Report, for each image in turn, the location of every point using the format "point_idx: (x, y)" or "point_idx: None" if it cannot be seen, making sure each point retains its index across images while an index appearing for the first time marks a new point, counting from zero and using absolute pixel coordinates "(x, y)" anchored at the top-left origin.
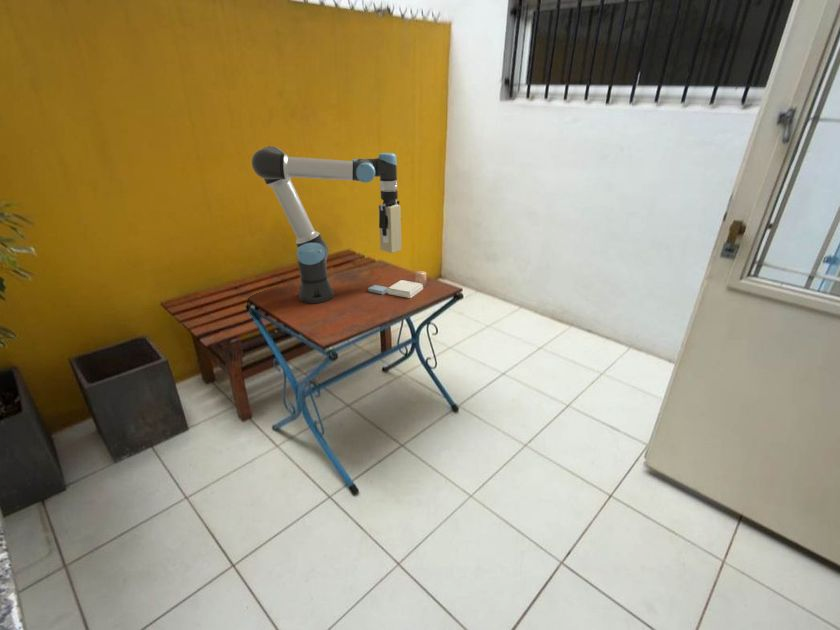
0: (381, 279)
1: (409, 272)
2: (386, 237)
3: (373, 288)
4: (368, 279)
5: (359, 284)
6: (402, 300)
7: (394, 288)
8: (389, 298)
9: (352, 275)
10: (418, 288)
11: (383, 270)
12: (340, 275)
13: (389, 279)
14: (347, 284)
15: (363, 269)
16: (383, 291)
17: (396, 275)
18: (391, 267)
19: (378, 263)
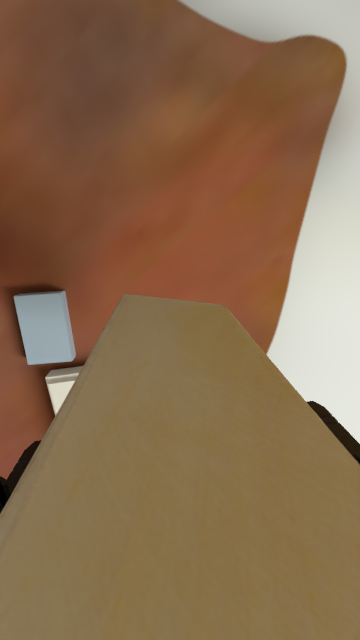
0: (153, 250)
1: (283, 300)
2: None
3: (25, 317)
4: (119, 197)
5: (48, 205)
6: None
7: (57, 405)
8: (24, 401)
9: (112, 77)
10: None
11: (252, 178)
12: (72, 8)
13: (172, 280)
14: (10, 151)
15: (214, 64)
16: (37, 362)
17: (226, 275)
18: (305, 185)
19: (330, 74)
